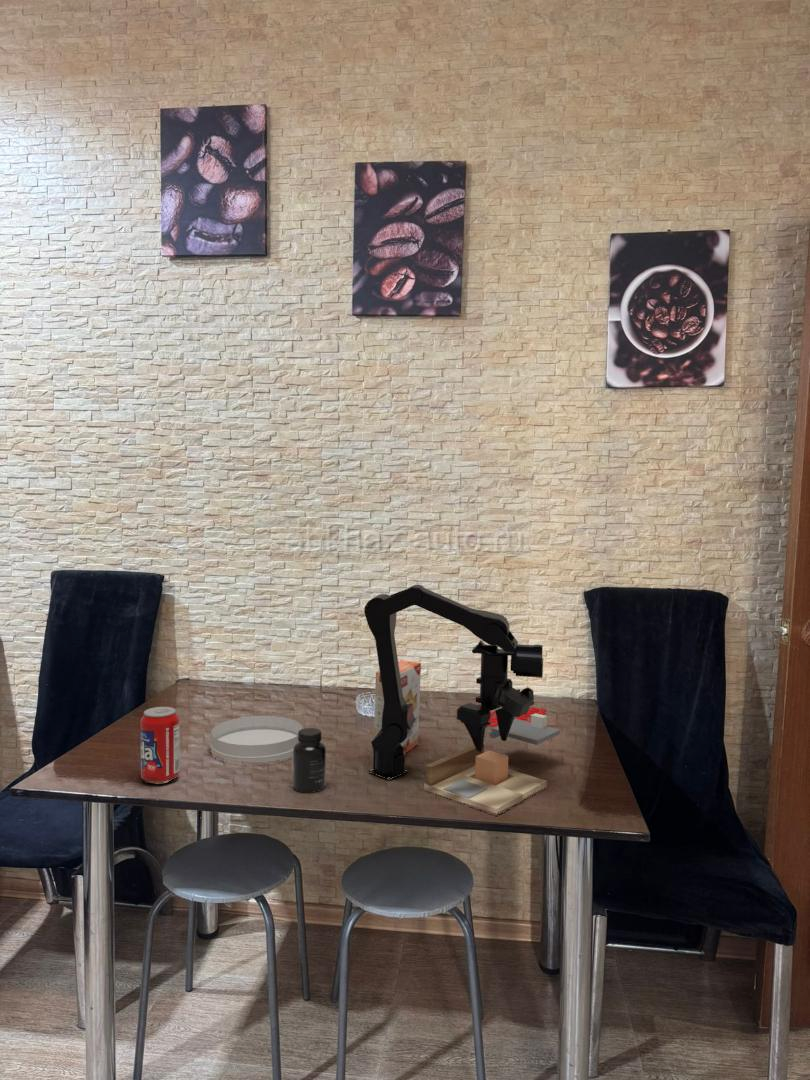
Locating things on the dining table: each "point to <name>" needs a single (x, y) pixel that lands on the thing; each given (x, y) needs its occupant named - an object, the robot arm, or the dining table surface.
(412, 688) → the cracker box
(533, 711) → the maze puzzle
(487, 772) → the block
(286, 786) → the dining table surface
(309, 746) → the supplement bottle
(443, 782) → the puzzle board
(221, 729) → the dish
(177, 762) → the soda can
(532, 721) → the sliding cover
